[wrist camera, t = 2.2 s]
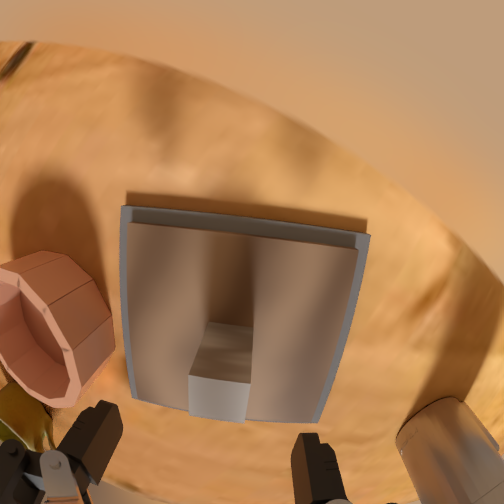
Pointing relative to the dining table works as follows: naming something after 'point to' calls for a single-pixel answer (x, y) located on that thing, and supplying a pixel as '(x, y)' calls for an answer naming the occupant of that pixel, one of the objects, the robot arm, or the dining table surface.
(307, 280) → the lid
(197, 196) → the dining table surface
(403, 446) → the robot arm
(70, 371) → the bowl
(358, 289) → the mat
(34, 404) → the mug
